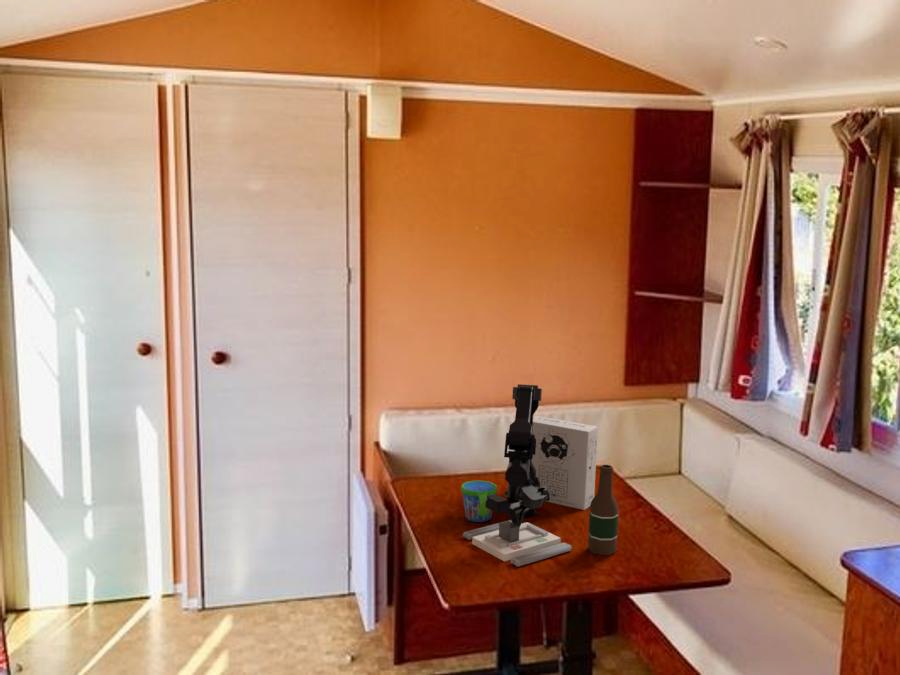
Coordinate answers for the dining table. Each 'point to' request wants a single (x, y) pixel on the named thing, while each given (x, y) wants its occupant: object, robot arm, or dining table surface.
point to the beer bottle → (603, 516)
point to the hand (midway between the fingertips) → (516, 528)
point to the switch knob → (509, 531)
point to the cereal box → (566, 460)
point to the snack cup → (477, 499)
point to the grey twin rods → (523, 558)
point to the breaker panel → (516, 542)
